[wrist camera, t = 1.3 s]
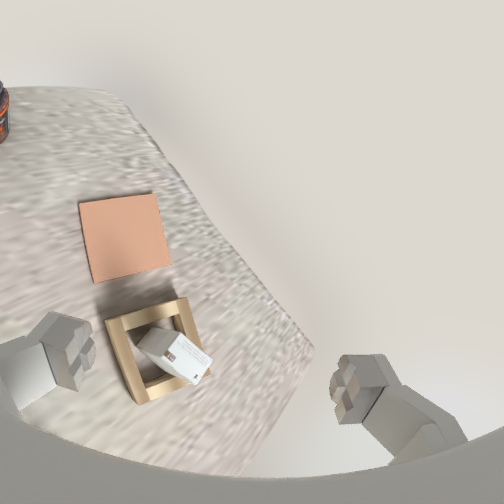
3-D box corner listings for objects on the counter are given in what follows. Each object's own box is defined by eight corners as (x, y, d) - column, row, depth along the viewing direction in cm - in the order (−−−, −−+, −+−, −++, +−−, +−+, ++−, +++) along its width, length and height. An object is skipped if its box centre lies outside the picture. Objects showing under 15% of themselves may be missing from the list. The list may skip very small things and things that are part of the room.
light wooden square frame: (133, 400, 38) (138, 405, 35) (104, 320, 38) (107, 320, 36) (201, 371, 46) (211, 374, 44) (178, 298, 46) (186, 297, 44)
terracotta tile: (93, 283, 38) (94, 283, 37) (78, 205, 38) (79, 203, 38) (169, 265, 47) (171, 264, 46) (153, 195, 47) (155, 193, 46)
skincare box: (177, 349, 44) (217, 359, 35) (161, 371, 42) (197, 387, 33) (149, 325, 42) (182, 328, 33) (132, 346, 40) (160, 357, 31)
